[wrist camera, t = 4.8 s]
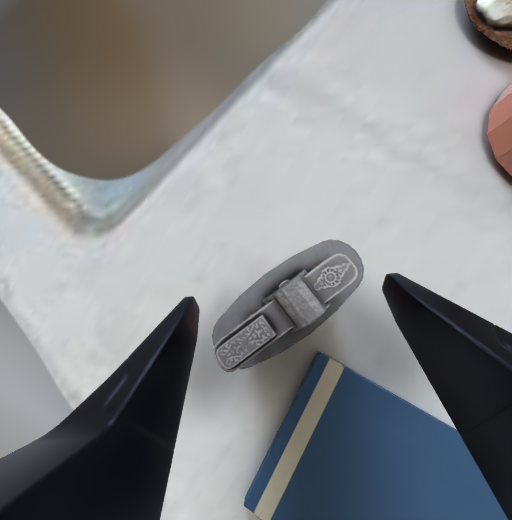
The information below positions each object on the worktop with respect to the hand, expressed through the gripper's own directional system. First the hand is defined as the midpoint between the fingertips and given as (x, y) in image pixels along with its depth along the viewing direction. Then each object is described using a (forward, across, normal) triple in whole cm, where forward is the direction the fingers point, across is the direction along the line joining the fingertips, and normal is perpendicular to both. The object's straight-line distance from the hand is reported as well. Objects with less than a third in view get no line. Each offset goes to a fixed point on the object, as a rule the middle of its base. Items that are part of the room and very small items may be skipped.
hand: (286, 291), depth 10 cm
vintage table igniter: (+5, 0, +6) cm, 8 cm away
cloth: (-6, -6, +16) cm, 18 cm away
